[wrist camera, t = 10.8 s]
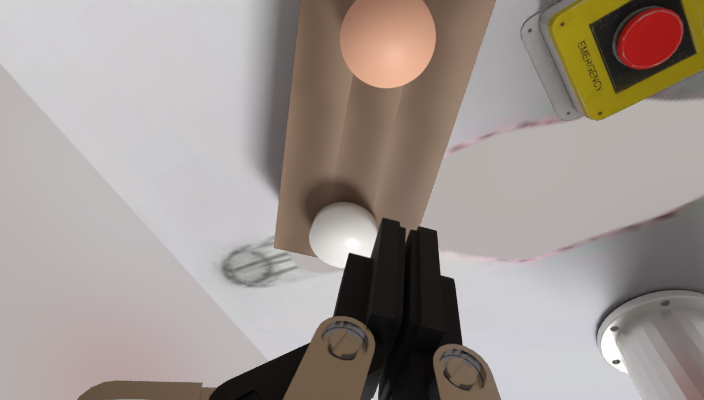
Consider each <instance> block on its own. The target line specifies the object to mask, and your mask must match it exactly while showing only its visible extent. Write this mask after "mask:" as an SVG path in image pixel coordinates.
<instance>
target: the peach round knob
mask: <svg viewBox="0 0 704 400" xmlns="http://www.w3.org/2000/svg"><path fill="white" fill-rule="evenodd" d="M435 42H436V30H435V24H434V21H433V18H432V15H431V13H430V11H429V9H428V7H427V5H426V4H425V2H424V1H423V0H356V1H355V2H354V3H353V5H352V6H351V7H350V8H349V10H348V11H347V13H346V15H345V17H344V20H343V23H342V26H341V31H340V46H341V51H342V55H343V58H344V60H345V62H346V64H347V66H348V68H349V69H350V70H351V72H352V73H353V74H354V75H355V76H356V77H357V78H359V79H360V80H361V81H363V82H365V83H367V84H369V85H371V86H374V87H379V88H395V87H399V86H402V85H405V84H407V83H409V82H411V81H412V80H414V79H415V78H417V77H418V76H419V75H420V74H421V73H422V72H423V71H424V69H425V68H426V67H427V65H428V64H429V62H430V60H431V58H432V55H433V52H434V48H435Z"/></svg>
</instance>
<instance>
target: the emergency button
mask: <svg viewBox="0 0 704 400" xmlns="http://www.w3.org/2000/svg"><path fill="white" fill-rule="evenodd" d="M521 38H522V41H523V43H524V45H525V47H526V49H527V51H528V54H529V56H530V58H531V60H532V62H533V64H534V67H535V69H536V71H537V73H538V75H539V77H540V80H541V82H542V84H543V86H544V88H545V90H546V92H547V95H548V97H549V99H550V101H551V103H552V105H553V108H554V110H555V112H556V114H557V116H558V117H559V118H560V119H561V120H565V121H570V120H573V119H576V118H578V117H580V116H582V115H585V116H586V117H587V118H590V119H593V120H601V119H604V118H607V117H609V116H611V115H612V114H614V113H617V112H619V111H621V110H623V109H625V108H627V107H629V106H631V105H633V104H635V103H637V102H639V101H641V100H643V99H645V98H648V97H650V96H652V95H654V94H656V93H658V92H660V91H662V90H664V89H666V88H668V87H670V86H672V85H674V84H676V83H678V82H680V81H682V80H684V79H686V78H689V77H691V76H693V75H695V74H697V73H699V72H701V71H703V70H704V0H559V1H557V2H556V3H554V4H553V5H551V6H549V7H548V8H546V9H544V10H543V11H541V12H539V13H538V14H536V15H535V16H533V17H531V18H530V19H529V20H528V21H527V22H526V23H524V25H523V27H522V29H521Z"/></svg>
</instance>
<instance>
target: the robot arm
mask: <svg viewBox="0 0 704 400" xmlns="http://www.w3.org/2000/svg"><path fill="white" fill-rule="evenodd" d="M405 239H406V228H404V227H400V221H396V220H392V219H388V218H384V217H383V218H382V220H381V223H380V226H379V230H378V233H377V237H376V240H375V243H374V247H373V250H372V254H371V257H370V258H369V257H365V256H361V255H357V254H353V253H349V254H348V258H347V261H346V265H345V269H344V273H343V277H342V281H341V285H340V289H339V293H338V298H337V302H336V306H335V311H334V315H333V317H332V318H328V319H327V320H325V321H323V322H322V323H321V324H320V325H319V327H318V328H317V330H316V332H315V334H314V336H313V338H312V340H311V342H310V343H308V344H306V345H304V346H302V347H299V348H297V349H295V350H293V351H291V352H289V353H286V354H284V355H282V356H280V357H278V358H276V359H273V360H271V361H269V362H267V363H265V364H263V365H260V366H258V367H256V368H254V369H252V370H250V371H247V372H245V373H243V374H241V375H239V376H237V377H234V378H232V379H230V380H228V381H226V382H225V383H223V384H222V385H220V386H218V387H217V388H208V387H203V383H191V382H149V381H109V382H103V383H101V384H98V385H96V386H94V387H91V388H90V389H89V390H87V391H86V392H85V393H83V394H82V395H81V396H80V397H79V398H78V399H77V400H371V398H373V397H374V394H375V392H376V389H377V386H378V384H379V392H378V399H379V400H501V398H500V395H499V392H498V389H497V386H496V383H495V381H494V378H493V375H492V372H491V370H490V368H489V366H488V364H487V363H486V362H485V361H484V360H483V358H482V357H481V356H480V355H478V354H477V353H476V352H474V351H473V350H471V349H469V348H467V347H465V346H463V345H462V337H461V329H460V320H459V312H458V304H457V296H456V288H455V282H454V279H453V278H449V277H445V276H441V275H440V263H439V251H438V239H437V231H435V230H432V229H428V228H424V227H420V226H419V227H418V228H417V230H412V229H411V230H410V231H409V234H408V237H407V240H406V243H405ZM597 345H598V347H599V349H600V352H601V354H602V356H603V357H604V359H605V360H606V361H607V362H608V363H609V364H610V365H611V366H613V367H614V368H616V369H618V370H620V371H623V372H625V373H628V374H629V375H630V377H631V379H632V381H633V382H634V384H635V386H636V388H637V390H638V392H639V394H640V396H641V397H642V399H643V400H704V294H702V293H697V292H693V291H685V290H668V291H660V292H654V293H649V294H646V295H643V296H640V297H637V298H635V299H632V300H630V301H628V302H626V303H624V304H623V305H621V306H620V307H618V308H616V309H615V310H614V311H613V312H612V313H611V314H609V315H608V316H607V318H606V319H605V320H604V321H603V323H602V324H601V326H600V328H599V330H598V335H597Z"/></svg>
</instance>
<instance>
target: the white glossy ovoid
mask: <svg viewBox="0 0 704 400" xmlns="http://www.w3.org/2000/svg"><path fill="white" fill-rule="evenodd" d="M377 233H378V225H377V222H376V220H375V218H374V217H373V215H372V214H371V213H370V212H369V211H368V210H366V209H365V208H363V207H361V206H360V205H357V204H354V203H350V202H336V203H332V204H329V205H327V206H325V207H324V208H322V209H321V210H320V211H319V212H318V213H317V215H316V216H315V218H314V221H313V224H312V227H311V230H310V234H309V242H310V246H311V248H312V250H313V252H314V253H315V254H316V255H317V256H318V257H319V258H320V259H321V260H322V261H324V262H325V263H327V264H329V265H332V266H335V267H340V268H345V265H346V261H347V258H348V254H349V253H353V254H357V255H361V256H365V257H369V258H370V257H371V254H372V250H373V247H374V243H375V240H376V237H377Z"/></svg>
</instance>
